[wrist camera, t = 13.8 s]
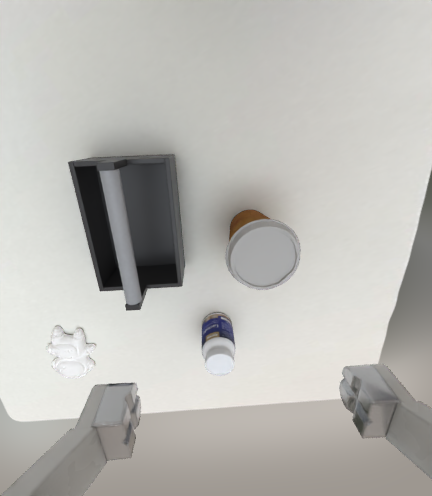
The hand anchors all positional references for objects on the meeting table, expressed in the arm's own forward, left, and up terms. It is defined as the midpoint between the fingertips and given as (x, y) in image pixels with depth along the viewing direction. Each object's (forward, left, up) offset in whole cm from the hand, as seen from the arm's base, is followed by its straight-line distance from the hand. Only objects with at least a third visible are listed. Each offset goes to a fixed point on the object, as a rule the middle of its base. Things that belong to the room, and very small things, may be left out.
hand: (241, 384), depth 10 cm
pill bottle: (+24, 0, -33) cm, 41 cm away
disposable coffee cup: (+5, +6, -33) cm, 34 cm away
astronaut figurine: (+28, -28, -33) cm, 52 cm away
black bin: (+2, -11, -33) cm, 35 cm away
